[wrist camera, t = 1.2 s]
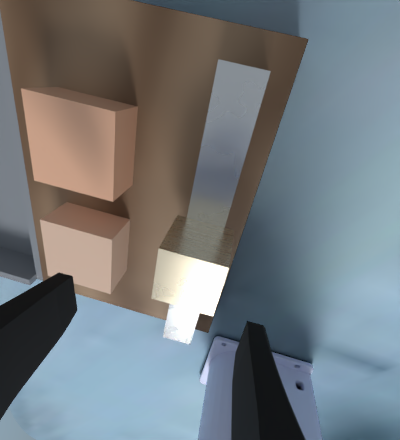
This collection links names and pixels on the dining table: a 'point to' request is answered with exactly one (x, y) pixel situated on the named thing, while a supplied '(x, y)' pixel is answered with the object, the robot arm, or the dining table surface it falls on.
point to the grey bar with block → (209, 203)
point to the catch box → (14, 190)
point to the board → (146, 111)
